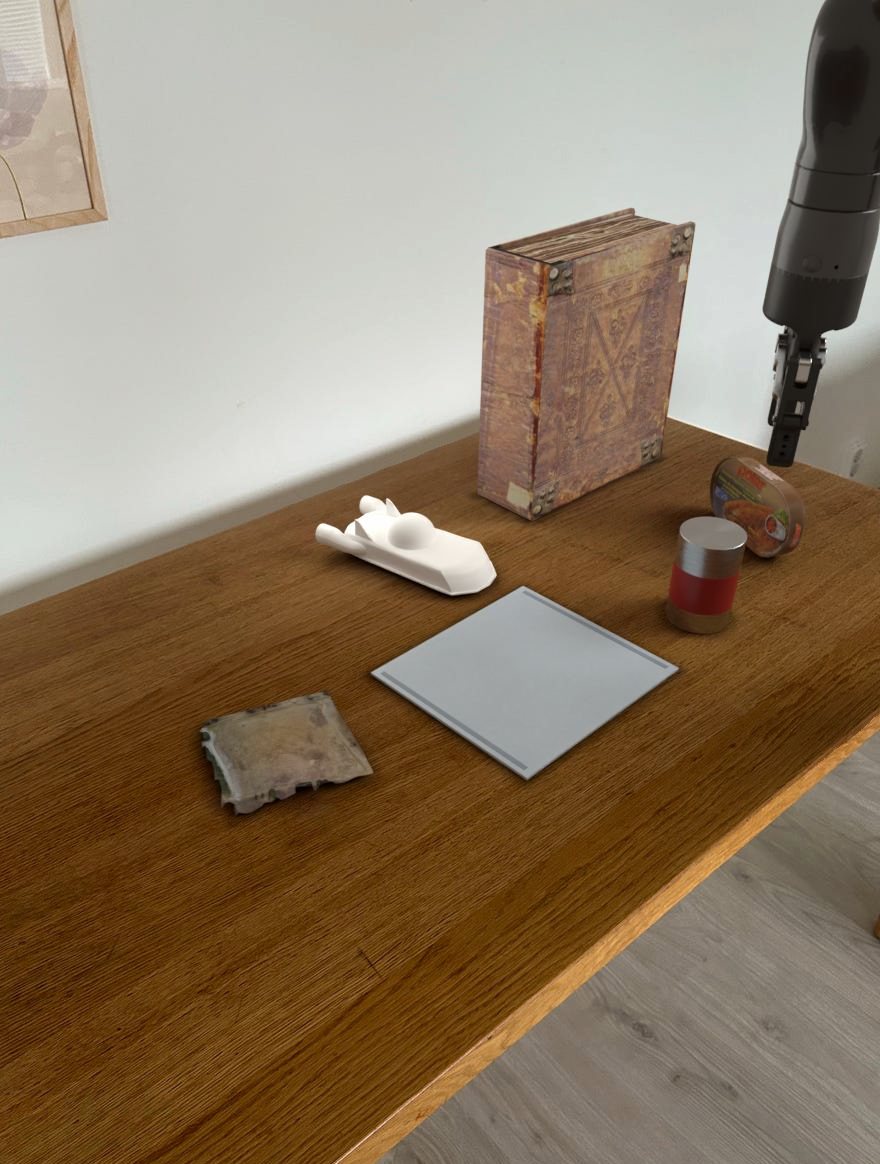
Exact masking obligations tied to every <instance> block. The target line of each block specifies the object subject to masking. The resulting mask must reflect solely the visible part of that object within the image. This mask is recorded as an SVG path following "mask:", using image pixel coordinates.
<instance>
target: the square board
mask: <svg viewBox="0 0 880 1164" xmlns="http://www.w3.org/2000/svg"><path fill="white" fill-rule="evenodd" d="M679 669H680V668H679V667H678V666H676V665H675V664H673V663H670V662H669V661H667V660H665V659H662V658H661V657H660V656H657V655H655V654H654V653H652V652H649V651H648V650H646V649H645V648H642V647H640V646H639V645H637V644H634V643H633V642H631V641H629V640H627V639H625V638H623V637H621V636H620V635H618V634H616V633H613V632H611V631H610V630H608V629H606V628H604V627H603V626H601V625H599V624H596V623H595V622H593V621H591V620H589V619H588V618H585V617H583V616H581V615H579V614H578V613H576V612H574V611H572V610H570V609H568V608H566V607H564V606H562V605H561V604H559V603H557V602H555V601H553V600H552V599H549V598H547V597H546V596H544V595H542V594H540V593H538V592H536V591H534V590H532V589H530V588H528V587H526V586H525V585H522V586H520V587H518V588H516V589H515V590H513V591H512V592H510V593H508V594H506V595H504V596H503V597H501V598H499V599H497V600H496V601H494V602H492V603H490V604H488V605H487V606H485V607H483V608H482V609H480V610H478V611H476V612H474V613H473V614H471V615H469V616H467V617H466V618H464V619H461V621H458V622H457V623H455V624H454V625H451V626H450V627H448V628H447V629H445V630H443V631H441V632H439V633H438V634H436V635H434V636H433V637H432V636H431V637H430V638H429V639H427V640H425V641H424V642H422V643H420V644H418V645H416V646H414V647H413V648H411V649H409V650H408V651H406V652H404V653H402V654H401V655H399V656H397V657H395V658H393V659H391V660H390V661H388V662H387V663H385V664H383V665H381V666H380V667H378V668H376V669H374V670H372V671H371V672H370V676H372V677H373V678H375V679H376V680H378V681H379V682H381V683H382V684H384V685H385V686H387V687H388V688H390V689H391V690H393V691H394V692H395V693H397V694H398V695H400V696H401V697H403V698H404V699H406V700H408V701H409V702H410V703H412V704H413V705H415V706H416V707H418V708H419V709H420V710H422V711H424V712H425V713H426V714H427V715H429V716H431V717H432V718H433V719H435V720H437V721H438V722H440V723H441V724H443V725H445V726H446V727H447V728H448V729H450V730H451V731H452V732H455V733H456V734H458V735H459V736H461V737H462V738H464V739H465V740H466V741H468V743H469V742H470V743H471V744H472V745H474V746H475V747H477V749H479V750H481V751H482V752H484V753H485V754H487V755H488V756H490V757H492V758H493V759H494V760H495V761H497V762H499V763H500V764H502V765H503V766H504V767H506V768H507V769H509V770H511V771H512V772H514V773H515V774H517V775H518V776H519V777H520V778H522V779H524V780H525V781H528V780H529V779H531V778H532V777H533V776H535V775H537V774H538V773H539V772H541V771H542V770H543V769H545V768H546V767H547V766H549V765H550V764H552V763H553V762H554V761H556V760H557V759H558V758H559V757H561V756H563V755H564V754H565V753H567V752H568V751H569V750H571V749H572V748H574V747H575V746H576V745H578V744H579V743H581V742H582V741H583V740H585V739H586V738H588V737H589V736H590V735H591V734H593V733H594V732H595V731H597V730H598V729H599V728H601V727H603V726H604V725H605V724H606V723H608V722H609V721H611V720H612V719H613V718H615V717H616V716H617V715H620V713H622V712H623V711H625V710H626V709H627V708H628V707H630V706H631V705H632V704H634V703H635V702H637V701H638V700H639V699H641V698H642V697H644V696H645V695H647V694H648V693H649V692H650V691H652V690H654V689H655V688H656V687H658V686H659V685H660V684H662V683H663V682H664V681H666V680H668V679H669V678H670V677H671V676H672V675H673V674H675V673H677V672H678V671H679Z"/></svg>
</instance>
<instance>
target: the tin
mask: <svg viewBox="0 0 880 1164" xmlns="http://www.w3.org/2000/svg"><path fill="white" fill-rule="evenodd" d="M709 501H710V506H711V509H712V512H713V514H714V517H717V518H722V519H726V520H729V521H732V522H734V523H736V524H738V525H739V526H741V527H742V528H743V529H744V530H745V532H746V534H747V541H746V545H745V547H747V548H749V550H750V551H752V552H753V553H755V555H758V556H759V557H761V558H772V557H776V556H784V555H787V554H790V553H792V552H793V551H794V550H796V549H797V547H799V545H800V543H801V540H802V538H803V535H804V531H805V527H806V521H807V512H806V507H805V504H804V501H803V499H802V496H801V494H800V493H799V492H798V490H797V489H796V488H795V487H794V486H793V485H791V483H789V482H787V481H786V480H785V479H784V478H782V477H781V476H779V475H778V474H776V473H775V472H773V471H772V470H770V469H769V468H768V467H767V466H765V465H764V464H762V463H761V462H760V461H758V460H757V459H755V458H754V457H751V456H739V457H738V456H737V457H733V456H729V457H725V458H723V459H721V460H720V461H719V462H718V463H717V464H716V466H715V468H714V469H713V472H712V473H711V477H710V483H709Z"/></svg>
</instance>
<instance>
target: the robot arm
mask: <svg viewBox="0 0 880 1164" xmlns="http://www.w3.org/2000/svg"><path fill="white" fill-rule="evenodd" d="M811 32H812V33H811V36H810V40H809V45H808V51H807V55H806V56H807V57H806V64H805V74H804V86H803V87H804V88H803V103H802V130H801V131H802V132H801V139H800V143H799V146H798V149H797V154H796V157H795V162H794V167H793V172H792V175H791V176H792V177H791V180H790V186H789V191H788V195H787V197H788V198H787V201H786V203H785V208H784V210H783V213H782V216H781V219H780V223H779V226H778V229H777V234H776V239H775V244H774V248H773V254H772V258H771V263H770V267H769V272H768V278H767V284H766V288H765V293H764V297H763V302H762V313H763V316H764V317H765V318H766V319H767V320H768V321H770V322H771V323H772V324H775V325H777V326H779V327H784V328H783V333H779V332H778V334H777V337H776V341H775V348H774V353H775V354H774V358H773V365H772V371H773V372H774V374H773V387H772V392H771V401H770V407H769V411H768V415H767V424H768V425H769V426H770V427H772V432H771V435H770V440H769V445H768V449H767V453H766V459H765V462H766V464H767V465H768V466H769V467H777V468H791V467H792V466H793V464H794V460H795V457H796V453H797V448H798V444H799V440H800V437H801V432H802V431H806V430H807V427H809V424H810V420H809V419H810V415H811V410H812V406H813V401H814V400H815V398H816V397H817V394H818V388H819V381H820V376H821V370H822V369H823V368H824V366H825V364H826V360H827V355H828V347H826V345H827V337H826V336H825V337H824V336H823V334H825V333H828V332H831V331H834V332H837V331H841V330H844V329H847V328H849V327H851V326H852V325H854V323H855V322H856V321H857V319H858V315H859V312H860V308H861V304H862V301H863V296H864V292H865V289H866V285H867V282H868V277H869V274H870V269H871V266H872V261H873V257H874V253H875V250H876V246H877V243H878V237H879V233H880V0H824V1H823V3H822V4H821V7H820V9H819V11H818V14H817V16H816V18H815V22H814V25H813V28H812V31H811ZM798 403H800V409H799V413H798V412H797V413H796V411H797V406H798Z"/></svg>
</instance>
